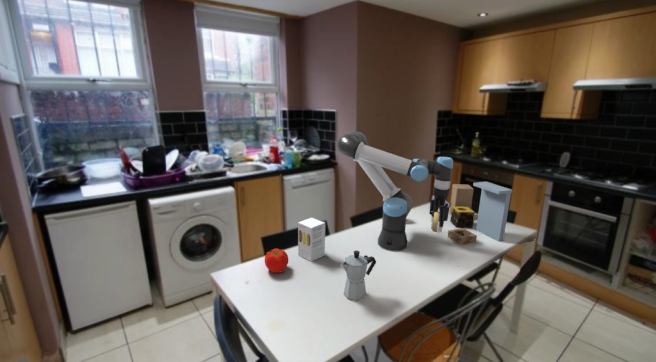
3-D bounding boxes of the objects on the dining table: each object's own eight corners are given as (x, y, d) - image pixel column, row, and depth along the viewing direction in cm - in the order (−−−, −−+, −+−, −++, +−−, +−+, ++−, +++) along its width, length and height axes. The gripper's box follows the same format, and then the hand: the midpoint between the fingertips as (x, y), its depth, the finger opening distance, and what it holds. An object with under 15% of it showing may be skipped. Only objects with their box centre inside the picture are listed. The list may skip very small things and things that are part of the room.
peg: (435, 232, 164) (437, 214, 162) (430, 229, 168) (432, 212, 165) (441, 231, 166) (444, 214, 163) (436, 228, 169) (439, 211, 167)
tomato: (270, 279, 131) (270, 260, 129) (261, 267, 140) (260, 249, 138) (293, 272, 137) (293, 253, 135) (283, 261, 146) (282, 243, 144)
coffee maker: (345, 304, 116) (346, 260, 111) (335, 291, 123) (336, 249, 119) (380, 295, 122) (382, 252, 117) (368, 283, 129) (370, 242, 125)
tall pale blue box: (490, 243, 166) (499, 191, 159) (466, 230, 181) (473, 182, 174) (503, 241, 169) (512, 189, 162) (479, 228, 184) (486, 181, 177)
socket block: (460, 245, 164) (461, 238, 163) (447, 237, 173) (448, 230, 172) (475, 242, 167) (476, 235, 166) (462, 234, 176) (463, 228, 175)
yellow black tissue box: (473, 228, 185) (475, 212, 183) (456, 228, 185) (458, 212, 183) (466, 221, 195) (468, 206, 193) (449, 221, 195) (451, 206, 193)
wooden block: (464, 213, 208) (468, 184, 203) (469, 219, 199) (473, 188, 194) (449, 213, 209) (452, 183, 204) (453, 218, 200) (457, 188, 195)
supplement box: (297, 254, 152) (297, 222, 147) (311, 248, 158) (311, 216, 154) (311, 262, 145) (311, 227, 141) (325, 255, 152) (325, 222, 148)
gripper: (459, 192, 154) (453, 236, 160) (437, 182, 169) (432, 223, 176) (447, 193, 152) (441, 238, 158) (425, 183, 167) (420, 224, 173)
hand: (436, 230), depth 167 cm, fingers closed on peg, 4 cm apart
